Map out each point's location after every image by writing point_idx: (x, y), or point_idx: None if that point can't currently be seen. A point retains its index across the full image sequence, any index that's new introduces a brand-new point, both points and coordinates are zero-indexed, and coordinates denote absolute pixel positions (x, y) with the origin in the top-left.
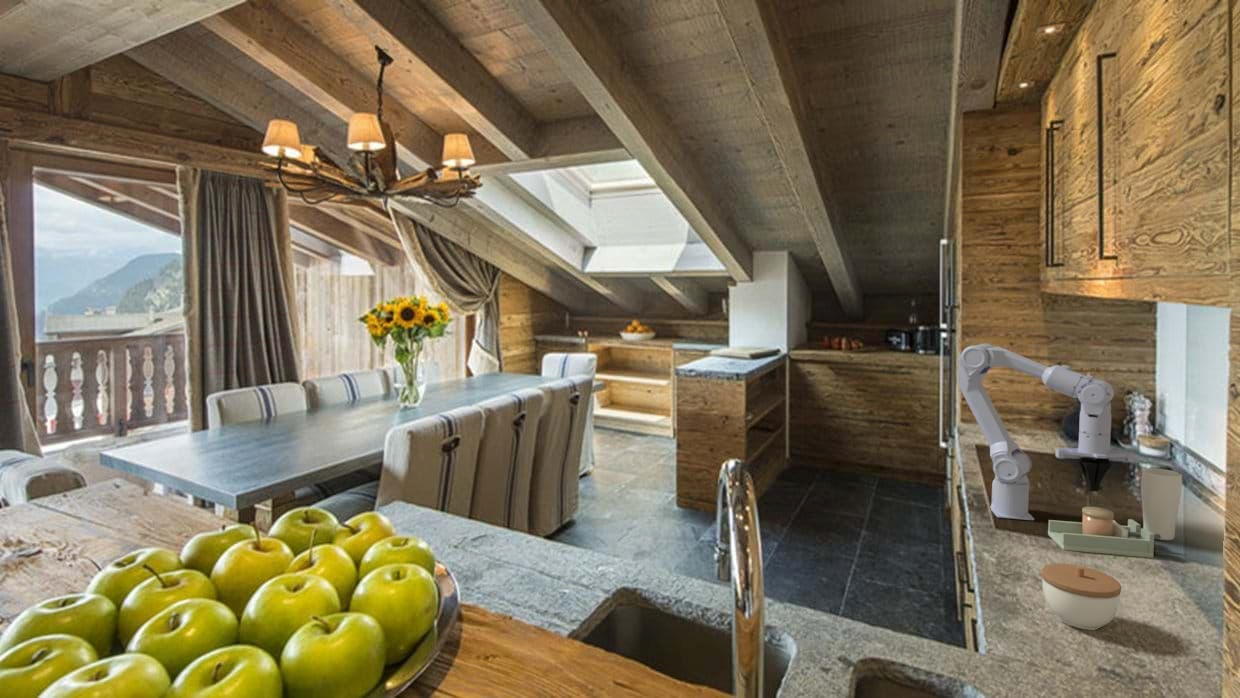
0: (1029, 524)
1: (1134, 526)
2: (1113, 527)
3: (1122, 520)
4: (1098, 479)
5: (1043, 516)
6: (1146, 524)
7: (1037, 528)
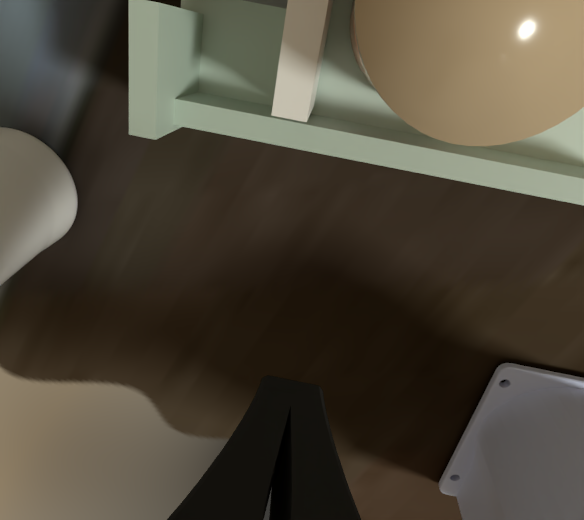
0: (560, 322)
1: (167, 30)
2: (327, 16)
3: (94, 366)
4: (247, 478)
5: (406, 408)
6: (42, 205)
7: (564, 272)
